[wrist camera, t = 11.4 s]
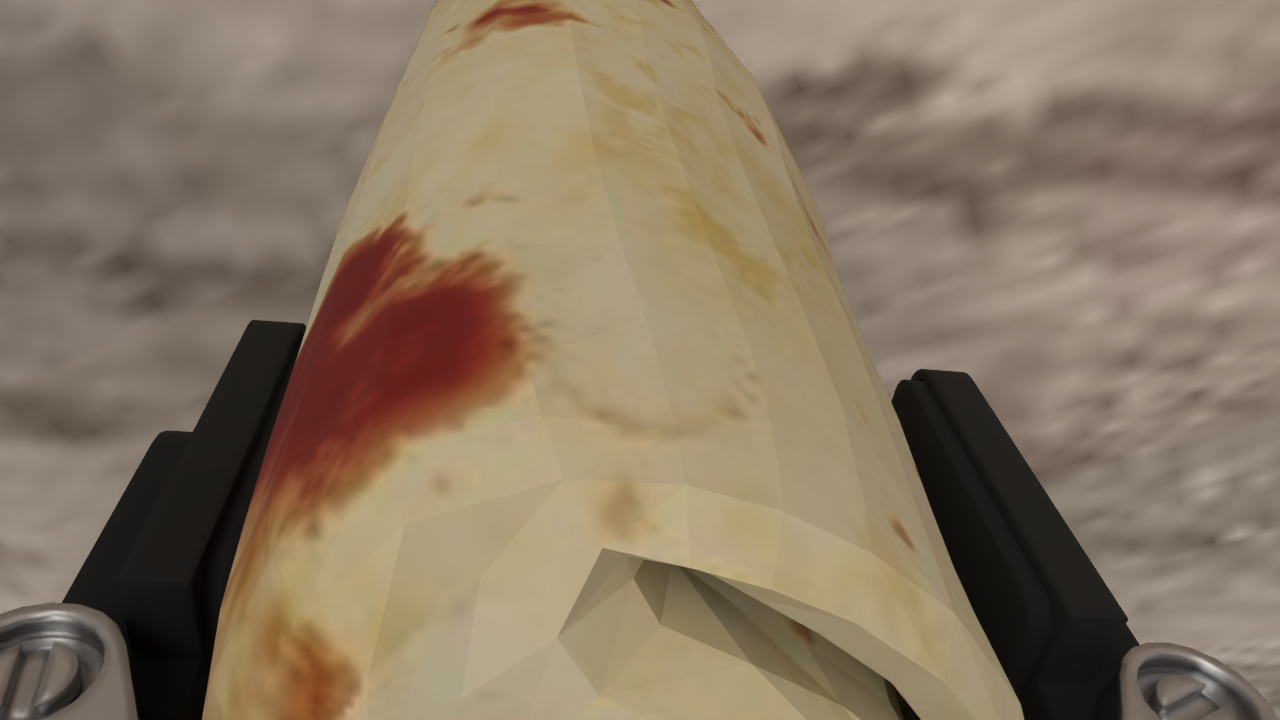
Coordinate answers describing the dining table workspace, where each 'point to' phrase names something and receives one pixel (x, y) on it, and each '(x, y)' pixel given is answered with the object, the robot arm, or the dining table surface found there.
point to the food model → (589, 417)
